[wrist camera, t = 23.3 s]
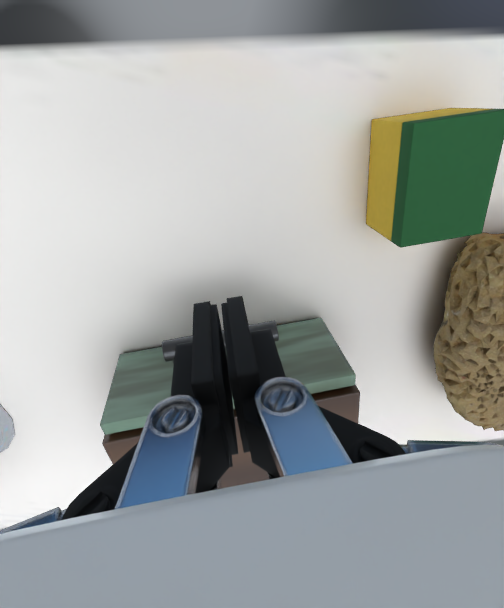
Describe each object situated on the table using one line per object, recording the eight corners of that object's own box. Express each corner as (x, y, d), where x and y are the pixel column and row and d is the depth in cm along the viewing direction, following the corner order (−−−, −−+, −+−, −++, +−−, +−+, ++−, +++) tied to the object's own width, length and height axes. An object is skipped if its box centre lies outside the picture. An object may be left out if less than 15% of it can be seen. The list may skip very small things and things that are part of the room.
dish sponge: (451, 107, 23) (511, 108, 19) (435, 212, 26) (482, 233, 22) (371, 119, 22) (413, 123, 18) (365, 224, 26) (400, 247, 22)
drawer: (105, 318, 26) (78, 384, 20) (320, 280, 27) (358, 331, 21) (157, 450, 34) (150, 526, 28) (322, 416, 35) (350, 482, 29)
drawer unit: (122, 363, 29) (101, 443, 22) (322, 326, 30) (360, 392, 23) (159, 453, 35) (151, 539, 28) (323, 420, 36) (354, 494, 30)
